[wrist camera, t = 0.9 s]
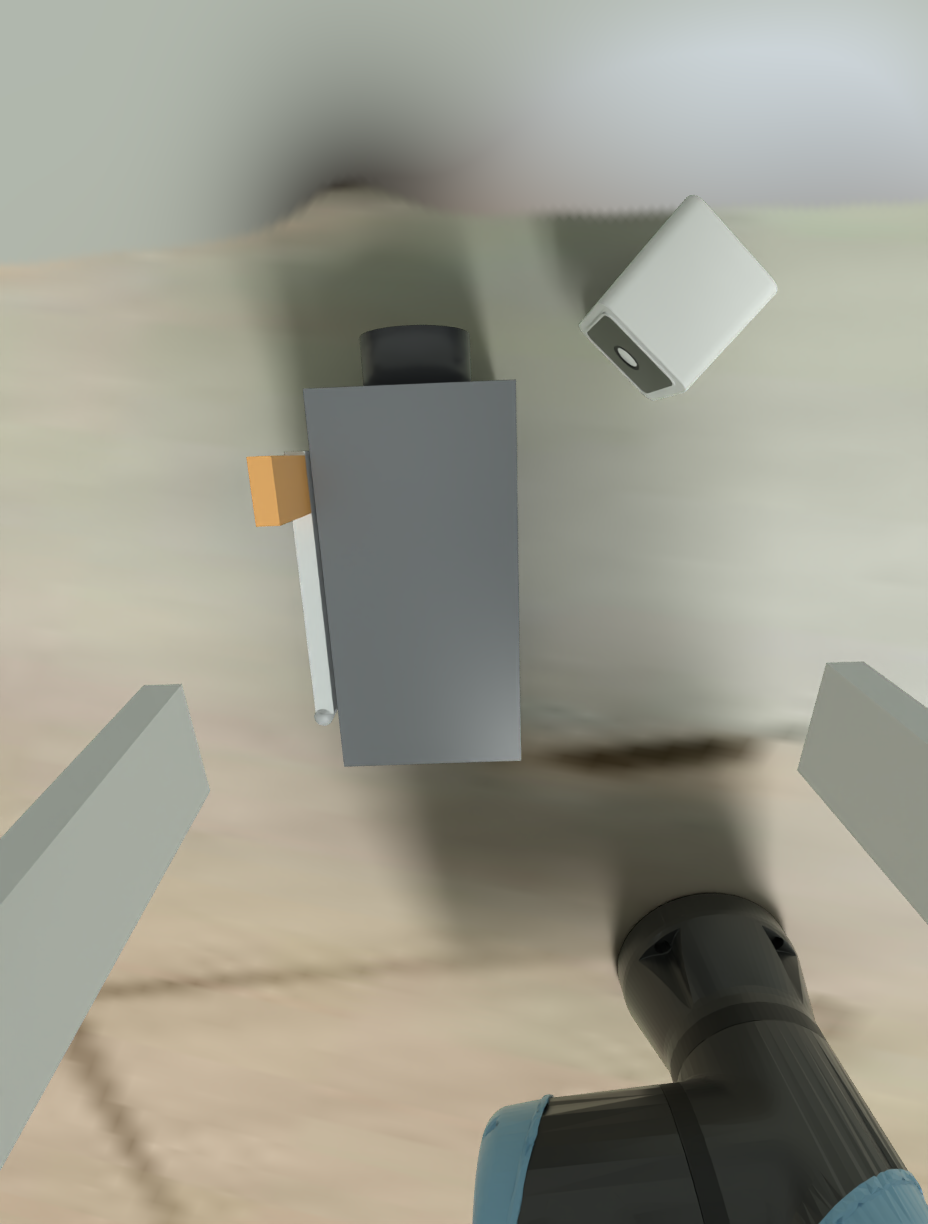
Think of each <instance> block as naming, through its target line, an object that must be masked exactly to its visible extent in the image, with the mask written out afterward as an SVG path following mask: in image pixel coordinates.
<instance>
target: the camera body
mask: <svg viewBox="0 0 928 1224" xmlns="http://www.w3.org/2000/svg"><path fill="white" fill-rule="evenodd" d="M360 350H361V362H362V374H363V386H356V387H332V388H309V389H303V396H304V405H305V414H306V423H307V432H308V441H309V450H310V460H311V469H312V478H313V487H314V496H315V505H316V514H317V523H318V532H319V542H320V551H321V560H322V569H323V578H324V587H325V596H326V605H327V615H328V624H329V633H330V642H331V651H332V660H333V669H334V678H335V687H336V697H337V706H338V715H339V724H340V733H341V742H342V751H343V760H344V767H347V766H376V765H405V764H434V763H463V762H493V761H521V724H520V652H519V579H518V507H517V435H516V380H496V381H472V382H471V359H470V334H469V333H468V332H467V331H465V330H463V329H459V328H454V327H448V326H436V325H407V326H394V327H386V328H380V329H375V330H372V331H368V332H366V333H363V334H362V335H361V336H360Z"/></svg>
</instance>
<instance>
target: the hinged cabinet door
mask: <svg viewBox="0 0 928 1224" xmlns="http://www.w3.org/2000/svg"><path fill="white" fill-rule="evenodd" d="M246 458H247V465H248V472H249V479H250V487H251V494H252V501H253V508H254V515H255V522H256V527H259V526H280V525H283V524H285V523H288V522H291V521H292V522H293V530H294V538H295V546H296V554H297V563H298V571H299V579H300V587H301V596H302V604H303V612H304V620H305V628H306V637H307V645H308V653H309V661H310V670H311V678H312V686H313V694H314V703H315V711H316V713H315V716H314V717H315V721H316V722H317V723H318V724H320V725H328V724H330V723H331V721H332V720H333V718H334V716H335V713H336V711H337V709H338V706H337V697H336V687H335V678H334V669H333V660H332V651H331V642H330V633H329V624H328V615H327V605H326V596H325V587H324V578H323V569H322V560H321V551H320V542H319V532H318V523H317V514H316V505H315V496H314V487H313V478H312V469H311V460H310V451H292V452H284V456H256V457H246Z"/></svg>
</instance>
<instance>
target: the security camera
mask: <svg viewBox="0 0 928 1224" xmlns="http://www.w3.org/2000/svg"><path fill="white" fill-rule="evenodd" d="M776 293H777V285H776V282H775V281H774V279H773V278H772V277H771V276H770V275H769V274H768V272H767V271H766V270H765V269H764V268H763V267H762V266H761V265H760V263H759V262H758V261H757V260H756V259H755V258H754V257H753V255H752V254H751V253H750V252H749V251H748V250H747V249H746V248H745V246H744V245H743V244H742V243H741V242H740V241H739V240H738V239H737V237H736V236H735V235H734V234H733V233H732V232H731V231H730V229H729V228H728V227H727V226H726V225H725V224H724V223H723V222H722V220H721V219H720V218H719V217H718V216H717V215H716V214H715V212H714V211H713V210H712V209H711V208H710V207H709V206H708V205H707V203H706V202H705V201H704V200H702V199H701V198H700V197H698V196H695V195H690V196H688V197H687V198H686V199H685V200H684V201H683V202H682V204H681V205H680V206H679V207H678V208H677V209H676V210H675V212H674V213H673V214H672V215H671V216H670V217H669V218H668V220H667V221H666V222H665V223H664V224H663V225H662V226H661V228H660V229H659V230H658V231H657V232H656V233H655V235H654V236H653V237H652V238H651V239H650V240H649V242H648V243H647V244H646V245H645V246H644V248H643V249H642V250H641V251H640V252H639V253H638V255H637V256H636V257H635V258H634V259H633V261H632V262H631V263H630V264H629V265H628V266H627V268H626V269H625V270H624V271H623V272H622V274H621V275H620V276H619V277H618V278H617V279H616V281H615V282H614V283H613V284H612V285H611V286H610V288H609V289H608V290H607V291H606V292H605V294H604V295H603V296H602V297H601V298H600V299H599V301H598V302H597V303H596V304H595V305H594V307H593V308H592V309H591V310H590V311H589V312H588V314H587V315H586V316H585V317H584V318H583V320H582V321H581V322H580V323H579V328H580V330H581V331H582V333H583V334H584V335H585V336H586V337H587V338H588V339H589V340H590V341H591V342H592V343H593V344H594V345H595V346H596V347H597V348H598V349H599V350H600V351H601V352H602V354H603V355H604V356H605V357H606V358H607V359H608V360H609V361H610V362H611V363H612V364H613V365H614V366H615V367H616V368H617V369H618V370H619V371H620V372H621V373H622V374H623V375H624V376H625V377H626V378H627V379H628V380H629V381H630V382H631V383H632V384H633V385H634V386H635V387H636V388H637V389H638V390H639V391H640V392H641V393H642V394H643V395H644V396H646V397H647V398H648V399H650V400H653V401H655V400H658V399H662V398H666V397H669V396H673V395H677V394H680V393H684V392H686V391H687V390H688V388H689V387H690V386H691V385H692V384H693V383H694V382H695V381H696V380H697V379H698V378H699V377H700V375H701V374H702V373H703V372H704V371H705V370H706V369H707V368H708V367H709V366H710V365H711V364H712V362H713V361H714V360H715V359H716V358H717V357H718V356H719V355H720V354H721V353H722V352H723V350H724V349H725V348H726V347H727V346H728V345H729V344H730V343H731V342H732V341H733V340H734V339H735V337H736V336H737V335H738V334H739V333H740V332H741V331H742V330H743V329H744V328H745V327H746V326H747V324H748V323H749V322H750V321H751V320H752V319H753V318H754V317H755V316H756V315H757V314H758V312H759V311H760V310H761V309H762V308H763V307H764V306H765V305H766V304H767V303H768V302H769V301H770V299H771V298H772V297H773V296H774V295H775V294H776Z"/></svg>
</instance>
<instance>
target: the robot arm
mask: <svg viewBox="0 0 928 1224" xmlns="http://www.w3.org/2000/svg"><path fill="white" fill-rule="evenodd" d="M797 771H798V772H799V773H800V774H801V775H802V777H803V778H804V779H805V780H806V781H807V782H808V784H809V785H810V786H811V787H812V788H813V790H814V791H815V792H816V793H817V794H818V795H819V797H820V798H821V799H822V800H823V801H824V803H825V804H826V805H827V806H828V807H829V808H830V810H831V811H832V812H833V813H834V814H835V815H836V817H837V818H838V819H839V820H840V821H841V823H842V824H843V825H844V826H845V827H846V828H847V830H848V831H849V832H850V833H851V834H852V836H853V837H854V838H855V839H856V840H857V841H858V843H859V844H860V845H861V846H862V847H863V849H864V850H865V851H866V852H867V853H868V854H869V856H870V857H871V858H872V859H873V860H874V862H875V863H876V864H877V865H878V866H879V867H880V869H881V870H882V871H883V872H884V873H885V875H886V876H887V877H888V878H889V879H890V880H891V882H892V883H893V884H894V885H895V886H896V888H897V889H898V890H899V891H900V892H901V893H902V895H903V896H904V897H905V898H906V899H907V901H908V902H909V903H910V904H911V905H912V906H913V908H914V909H915V910H916V911H917V912H918V914H919V915H920V916H921V917H922V918H923V919H924V921H925V922H926V923H927V924H928V708H926V707H925V706H924V705H922V704H921V703H920V702H918V701H917V700H915V699H914V698H913V697H911V696H910V695H909V694H907V693H906V692H904V691H903V690H902V689H900V688H899V687H898V686H896V685H895V684H894V683H892V682H891V681H889V680H888V679H887V678H885V677H884V676H883V675H881V674H880V673H878V672H877V671H876V670H874V669H873V668H872V667H870V666H869V665H868V664H866V663H865V662H837V663H826V666H825V670H824V674H823V677H822V681H821V685H820V688H819V692H818V696H817V699H816V703H815V707H814V710H813V714H812V718H811V721H810V725H809V729H808V732H807V736H806V740H805V744H804V747H803V751H802V755H801V758H800V762H799V766H798V769H797ZM209 792H210V789H209V785H208V781H207V777H206V774H205V770H204V766H203V762H202V759H201V755H200V751H199V747H198V743H197V740H196V736H195V732H194V728H193V725H192V721H191V717H190V713H189V710H188V706H187V702H186V698H185V695H184V691H183V687H182V684H173V685H144V686H143V687H142V688H141V689H140V690H139V691H138V692H137V693H136V694H135V695H134V696H133V697H132V698H131V699H130V701H129V702H128V703H127V704H126V705H125V706H124V707H123V708H122V709H121V710H120V711H119V712H118V713H117V714H116V715H115V717H114V718H113V719H112V720H111V721H110V722H109V723H108V724H107V725H106V726H105V727H104V728H103V729H102V730H101V732H100V733H99V734H98V735H97V736H96V737H95V738H94V739H93V740H92V741H91V742H90V743H89V744H88V745H87V746H86V748H85V749H84V750H83V751H82V752H81V753H80V754H79V755H78V756H77V757H76V758H75V759H74V760H73V761H72V763H71V764H70V765H69V766H68V767H67V768H66V769H65V770H64V771H63V772H62V773H61V774H60V775H59V776H58V777H57V779H56V780H55V781H54V782H53V783H52V784H51V785H50V786H49V787H48V788H47V789H46V790H45V791H44V792H43V794H42V795H41V796H40V797H39V798H38V799H37V800H36V801H35V802H34V803H33V804H32V805H31V806H30V807H29V808H28V810H27V811H26V812H25V813H24V814H23V815H22V816H21V817H20V818H19V819H18V820H17V821H16V822H15V823H14V825H13V826H12V827H11V828H10V829H9V830H8V831H7V832H6V833H5V834H4V835H3V836H2V837H1V838H0V1170H1V1168H2V1167H3V1165H4V1163H5V1161H6V1159H7V1158H8V1156H9V1154H10V1152H11V1150H12V1149H13V1147H14V1145H15V1143H16V1141H17V1139H18V1138H19V1136H20V1134H21V1132H22V1130H23V1129H24V1127H25V1125H26V1123H27V1121H28V1120H29V1118H30V1116H31V1114H32V1112H33V1111H34V1109H35V1107H36V1105H37V1103H38V1102H39V1100H40V1098H41V1096H42V1094H43V1092H44V1091H45V1089H46V1087H47V1085H48V1083H49V1082H50V1080H51V1078H52V1076H53V1074H54V1073H55V1071H56V1069H57V1067H58V1065H59V1064H60V1062H61V1060H62V1058H63V1056H64V1054H65V1053H66V1051H67V1049H68V1047H69V1045H70V1044H71V1042H72V1040H73V1038H74V1036H75V1035H76V1033H77V1031H78V1029H79V1027H80V1026H81V1024H82V1022H83V1020H84V1018H85V1016H86V1015H87V1013H88V1011H89V1009H90V1007H91V1006H92V1004H93V1002H94V1000H95V998H96V997H97V995H98V993H99V991H100V989H101V988H102V986H103V984H104V982H105V980H106V979H107V977H108V975H109V973H110V971H111V969H112V968H113V966H114V964H115V962H116V960H117V959H118V957H119V955H120V953H121V951H122V950H123V948H124V946H125V944H126V942H127V941H128V939H129V937H130V935H131V933H132V931H133V930H134V928H135V926H136V924H137V922H138V921H139V919H140V917H141V915H142V913H143V912H144V910H145V908H146V906H147V904H148V903H149V901H150V899H151V897H152V895H153V894H154V892H155V890H156V888H157V886H158V884H159V883H160V881H161V879H162V877H163V875H164V874H165V872H166V870H167V868H168V866H169V865H170V863H171V861H172V859H173V857H174V856H175V854H176V852H177V850H178V848H179V846H180V845H181V843H182V841H183V839H184V837H185V836H186V834H187V832H188V830H189V828H190V827H191V825H192V823H193V821H194V819H195V818H196V816H197V814H198V812H199V810H200V808H201V807H202V805H203V803H204V801H205V799H206V798H207V796H208V794H209ZM618 977H619V981H620V985H621V988H622V992H623V995H624V998H625V1002H626V1005H627V1007H628V1009H629V1011H630V1013H631V1015H632V1017H633V1019H634V1020H635V1022H636V1023H637V1025H638V1026H639V1028H640V1029H641V1031H642V1032H643V1034H644V1035H645V1037H646V1038H647V1039H648V1041H649V1042H650V1044H651V1045H652V1047H653V1048H654V1050H655V1051H656V1053H657V1054H658V1056H659V1057H660V1059H661V1060H662V1062H663V1063H664V1064H665V1066H666V1067H667V1069H668V1070H669V1072H670V1074H671V1077H672V1080H673V1083H668V1084H661V1085H650V1086H643V1087H635V1088H627V1089H619V1090H611V1091H603V1092H595V1093H587V1094H579V1095H571V1096H563V1097H554V1096H553V1095H550V1094H548V1095H545V1096H543V1098H542V1099H540V1100H535V1101H530V1102H525V1103H520V1104H515V1105H510V1106H505V1107H503V1108H501V1109H499V1110H498V1111H497V1112H496V1113H495V1114H494V1115H493V1116H492V1117H491V1119H490V1120H489V1122H488V1124H487V1126H486V1128H485V1131H484V1134H483V1137H482V1141H481V1146H480V1151H479V1156H478V1163H477V1171H476V1180H475V1191H474V1205H473V1223H472V1224H928V1205H927V1204H926V1202H925V1200H924V1196H923V1193H922V1189H921V1187H920V1185H919V1183H918V1182H917V1181H916V1179H915V1178H914V1176H913V1175H912V1173H910V1172H909V1171H908V1170H907V1168H906V1167H905V1165H904V1164H903V1162H902V1160H901V1159H900V1157H899V1156H898V1154H897V1152H896V1151H895V1149H894V1148H893V1146H892V1144H891V1143H890V1141H889V1140H888V1138H887V1136H886V1135H885V1133H884V1132H883V1130H882V1128H881V1127H880V1125H879V1124H878V1122H877V1120H876V1119H875V1117H874V1116H873V1114H872V1112H871V1111H870V1109H869V1108H868V1106H867V1104H866V1103H865V1101H864V1100H863V1098H862V1096H861V1095H860V1093H859V1092H858V1090H857V1088H856V1087H855V1085H854V1084H853V1082H852V1080H851V1079H850V1077H849V1076H848V1074H847V1072H846V1071H845V1069H844V1068H843V1066H842V1064H841V1063H840V1061H839V1060H838V1058H837V1056H836V1055H835V1053H834V1052H833V1050H832V1049H831V1047H830V1046H829V1044H828V1042H827V1041H826V1039H825V1037H824V1036H823V1034H822V1033H821V1031H820V1029H819V1027H818V1026H817V1024H816V1022H815V1018H814V1015H813V1011H812V1007H811V1003H810V1000H809V996H808V992H807V988H806V985H805V981H804V977H803V973H802V970H801V966H800V962H799V959H798V956H797V954H796V951H795V949H794V947H793V945H792V943H791V942H790V940H789V939H788V937H787V936H786V934H785V933H784V931H783V930H782V928H781V927H780V925H779V924H778V922H777V921H776V920H775V919H774V917H773V916H772V915H771V914H770V913H768V912H767V911H766V910H765V909H763V908H762V907H760V906H759V905H757V904H755V903H753V902H751V901H749V900H746V899H743V898H740V897H737V896H732V895H726V894H698V895H692V896H687V897H683V898H680V899H676V900H674V901H671V902H669V903H666V904H664V905H662V906H660V907H659V908H657V909H655V910H654V911H652V912H651V913H649V914H648V915H647V916H645V917H644V918H643V919H642V920H641V921H640V922H639V923H638V924H637V925H636V926H635V927H634V928H633V929H632V930H631V932H630V933H629V935H628V936H627V938H626V940H625V941H624V943H623V946H622V948H621V951H620V954H619V959H618Z"/></svg>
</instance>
